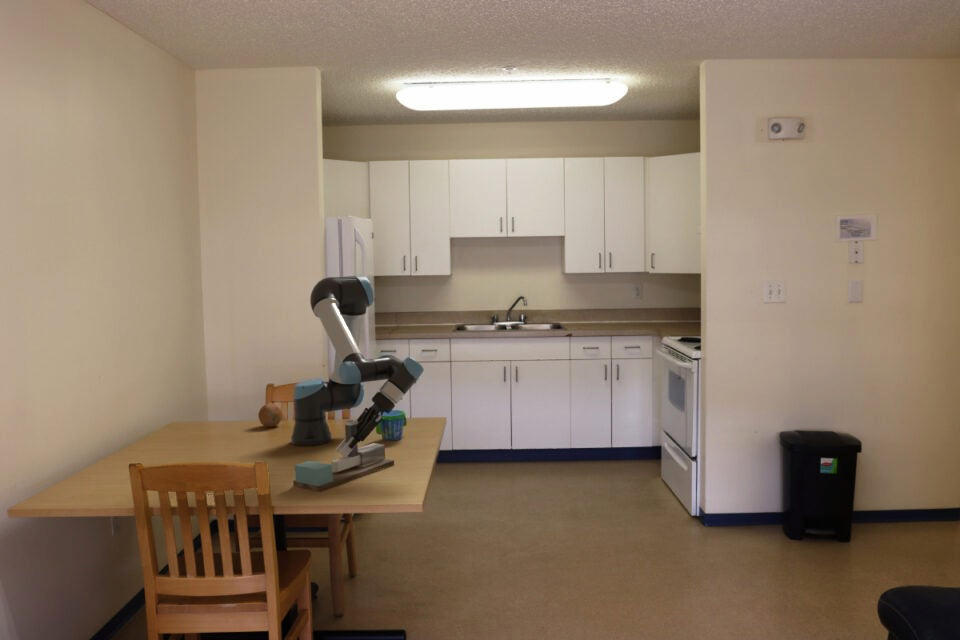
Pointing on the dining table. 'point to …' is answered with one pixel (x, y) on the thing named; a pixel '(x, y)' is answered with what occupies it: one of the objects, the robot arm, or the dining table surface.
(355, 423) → the tube
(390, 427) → the snack cup
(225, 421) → the dining table surface
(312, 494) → the dining table surface
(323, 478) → the socket
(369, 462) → the long brown base plank
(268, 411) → the brown ball
